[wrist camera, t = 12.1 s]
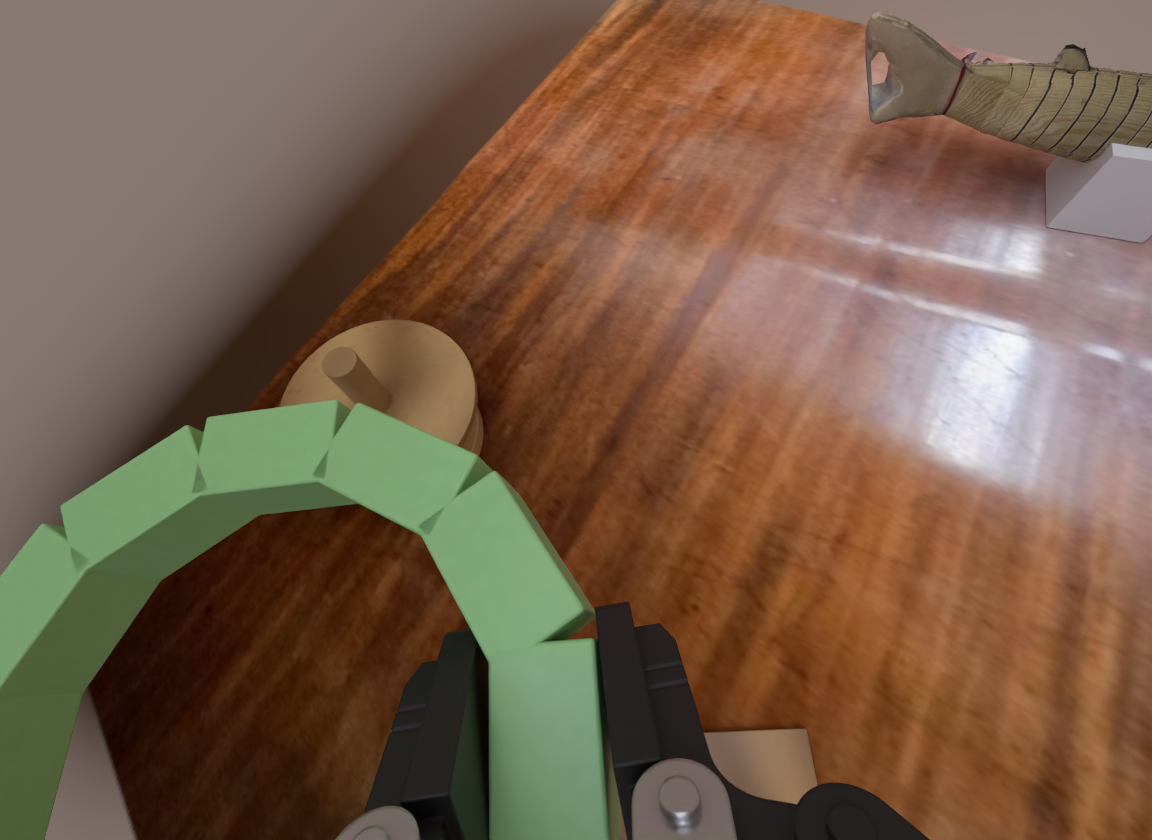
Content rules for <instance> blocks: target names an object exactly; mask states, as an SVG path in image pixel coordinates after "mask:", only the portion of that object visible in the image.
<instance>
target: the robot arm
mask: <svg viewBox="0 0 1152 840" xmlns="http://www.w3.org/2000/svg"><path fill="white" fill-rule="evenodd" d="M595 616H596V624H597V633H598V642H599V651H600V659H601V668H602V677H603V685H604V694H605V703H606V712H607V720H608V729H609V738H610V746H611V755H612V764H613V770H614V775H615V780H616V785H617V790H618V795H619V800H620V805H621V810H622V815H623V820H624V825H625V830H626V835H627V840H929V839H928V838H927V837H926V836H925V835H923V834H922V833H921V832H920V831H919V830H917V829H916V828H915V827H914V826H913V825H911V824H910V823H909V822H908V821H907V820H905V819H904V818H903V817H902V816H901V815H899V814H898V813H897V812H896V811H894V810H893V809H892V808H891V807H890V806H888V805H887V804H886V803H885V802H883V801H882V800H881V799H879V798H878V797H877V796H875V795H873V794H872V793H870V792H868V791H866V790H864V789H861V788H859V787H856V786H853V785H849V784H843V783H826V784H821V785H818V786H816V787H813V788H812V789H810V790H809V791H807V792H806V793H805V794H804V795H803V796H802V797H801V799H800V800H799V802H798V804H793V803H787V802H781V801H775V800H769V799H764V798H760V797H756V796H753V795H751V794H748V793H746V792H744V791H742V790H741V789H739V788H737V787H736V786H734V785H733V784H732V783H730V782H729V781H728V780H727V779H726V778H725V777H724V776H723V775H722V774H721V772H720V771H719V770H718V769H717V767H716V765H715V764H714V762H713V760H712V757H711V755H710V752H709V748H708V745H707V742H706V739H705V735H704V732H703V729H702V726H701V722H700V719H699V716H698V712H697V709H696V706H695V703H694V699H693V696H692V693H691V690H690V686H689V684H688V680H687V676H686V673H685V670H684V667H683V665H682V660H681V657H680V654H679V650H678V647H677V644H676V640H675V639H674V638H673V637H672V636H671V635H670V634H669V633H668V632H667V631H666V630H665V629H664V627H663V626H662V625H661V624H660V623H658V624H652V625H646V626H640V627H634V623H633V618H632V613H631V609H630V604H629V602H623V603H617V604H611V605H605V606H599V607H595ZM391 729H392V733H391V734H389V738H388V741H387V744H386V747H385V750H384V753H383V756H382V759H381V762H380V765H379V768H378V772H377V775H376V778H375V781H374V784H373V787H372V790H371V793H370V796H369V799H368V802H367V805H366V809H365V811H364V814H363V815H361V816H360V817H358V818H357V819H355V820H354V821H353V822H352V823H350V824H349V825H348V826H347V827H346V828H345V829H344V830H343V831H342V832H341V833H340V834H339V835H338V837H337V838H336V839H335V840H489V666H488V661H487V659H486V657H485V655H484V653H483V651H482V650H481V648H480V646H479V644H478V642H477V640H476V638H475V636H474V635H473V633H472V631H471V629H470V628H469V629H463V630H457V631H451V632H447V633H446V634H445V636H444V639H443V642H442V646H441V650H440V654H439V657H438V661H432V662H426V663H422V664H421V665H420V667H419V668H418V669H417V671H416V672H415V673H414V675H413V676H412V677H411V679H410V680H409V681H408V682H407V684H406V685H405V688H404V691H403V694H402V697H401V701H400V704H399V707H398V713H396V716H395V719H394V722H393V725H392V728H391Z"/></svg>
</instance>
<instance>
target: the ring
mask: <svg viewBox="0 0 1152 840" xmlns="http://www.w3.org/2000/svg"><path fill="white" fill-rule="evenodd" d="M350 504H360V505H362V506H364V507H366V508H368V509H370V510H372V511H374V512H376V513H378V514H380V515H381V516H383V517H385V518H387V519H389V520H391V521H393V522H395V523H397V524H399V525H401V526H403V527H405V528H407V529H409V530H410V531H412V532H414V533H416V534H418V535H420V536H421V537H422V539H423V541H424V543H425V544H426V546H427V548H428V550H429V552H430V554H431V556H432V558H433V559H434V561H435V563H436V565H437V567H438V569H439V571H440V573H441V574H442V576H443V578H444V580H445V582H446V584H447V586H448V588H449V589H450V591H451V593H452V595H453V597H454V599H455V601H456V603H457V604H458V606H459V608H460V610H461V612H462V614H463V616H464V618H465V619H466V621H467V623H468V625H469V627H470V629H471V631H472V633H473V635H474V636H475V638H476V640H477V642H478V644H479V646H480V648H481V650H482V651H483V653H484V655H485V657H486V659H487V661H488V666H489V840H619V838H620V835H621V831H622V825H621V813H620V801H619V795H618V790H617V785H616V780H615V775H614V770H613V764H612V755H611V746H610V738H609V729H608V720H607V712H606V703H605V694H604V685H603V677H602V668H601V659H600V651H599V642H598V639H594V638H583V639H570V640H566V639H568V638H569V637H571V636H572V635H573V634H575V633H576V632H577V631H579V630H580V629H581V628H583V627H584V626H585V625H587V624H588V623H590V622H591V621H592V620H594V619H595V618H596V616H595V610H594V609H593V607H592V606H591V604H590V602H589V601H588V599H587V598H586V596H585V595H584V593H583V592H582V590H581V589H580V587H579V585H578V584H577V582H576V581H575V579H574V578H573V576H572V575H571V573H570V572H569V570H568V568H567V567H566V565H565V564H564V562H563V561H562V559H561V558H560V556H559V555H558V553H557V551H556V550H555V548H554V547H553V545H552V544H551V542H550V541H549V539H548V538H547V536H546V534H545V533H544V531H543V530H542V528H541V527H540V525H539V524H538V522H537V521H536V519H535V517H534V516H533V514H532V513H531V511H530V510H529V508H528V507H527V505H526V504H525V502H524V501H523V499H522V497H521V496H520V495H519V494H518V493H517V492H516V490H515V489H514V488H513V487H512V486H511V485H510V484H509V483H508V482H507V481H506V480H505V479H504V478H503V477H502V476H501V475H500V474H499V473H498V472H496V471H493V470H492V469H491V468H490V467H489V466H488V465H487V464H486V463H485V462H484V461H483V460H482V459H481V458H480V457H479V456H478V455H477V454H475V453H473V452H470V451H468V450H466V449H464V448H461V447H459V446H457V445H454V444H452V443H450V442H448V441H445V440H443V439H441V438H439V437H436V436H434V435H432V434H430V433H427V432H425V431H423V430H421V429H418V428H416V427H414V426H412V425H409V424H407V423H405V422H403V421H400V420H398V419H396V418H394V417H391V416H389V415H387V414H385V413H382V412H380V411H378V410H376V409H373V408H371V407H369V406H366V405H364V404H362V403H357V404H355V406H354V407H353V409H352V410H351V409H350V408H348V407H347V406H346V405H344V404H343V403H342V402H340V401H339V400H336V399H335V400H328V401H320V402H313V403H306V404H299V405H292V406H284V407H277V408H270V409H263V410H256V411H249V412H241V413H234V414H228V415H220V416H213V417H208V418H207V420H206V425H205V429H204V432H202V431H199V430H197V429H195V428H193V427H191V426H189V425H186V426H184V427H183V428H181V429H180V430H178V431H176V432H175V433H173V434H172V435H170V436H169V437H167V438H166V439H164V440H162V441H161V442H159V443H158V444H156V445H155V446H153V447H151V448H150V449H148V450H147V451H145V452H144V453H142V454H140V455H139V456H137V457H136V458H134V459H133V460H131V461H129V462H128V463H126V464H125V465H123V466H122V467H120V468H119V469H117V470H115V471H114V472H112V473H111V474H109V475H108V476H106V477H104V478H103V479H101V480H100V481H98V482H97V483H95V484H94V485H92V486H91V487H89V488H87V489H86V490H84V491H83V492H81V493H79V494H78V495H77V496H75V497H73V498H72V499H70V500H69V501H67V502H65V503H64V504H62V505H61V507H60V508H61V513H62V517H63V522H64V527H60V526H55V525H50V524H41V525H40V526H39V527H38V529H37V530H36V531H35V532H34V534H33V535H32V536H31V537H30V539H29V540H28V541H27V543H26V544H25V545H24V546H23V548H22V549H21V550H20V551H19V553H18V554H17V555H16V557H15V558H14V559H13V561H12V562H11V563H10V565H9V566H8V567H7V568H6V569H5V571H4V572H3V573H2V574H1V576H0V840H45V835H46V831H47V827H48V823H49V820H50V816H51V812H52V808H53V805H54V801H55V797H56V793H57V790H58V786H59V782H60V778H61V774H62V771H63V767H64V763H65V759H66V755H67V751H68V748H69V743H70V740H71V736H72V733H73V728H74V725H75V721H76V717H77V714H78V710H79V706H80V702H81V698H82V695H83V692H84V691H85V689H86V688H87V686H88V685H89V684H90V682H91V681H92V679H93V678H94V676H95V675H96V673H97V672H98V671H99V669H100V668H101V666H102V665H103V663H104V662H105V660H106V659H107V658H108V656H109V655H110V653H111V652H112V650H113V649H114V648H115V646H116V645H117V643H118V642H119V640H120V639H121V637H122V636H123V635H124V633H125V632H126V630H127V629H128V627H129V626H130V624H131V623H132V622H133V620H134V619H135V617H136V616H137V614H138V613H139V611H140V610H141V609H142V607H143V606H144V604H145V603H146V601H147V600H148V598H149V597H150V596H151V594H152V593H153V591H154V590H155V588H156V587H157V586H158V584H159V583H160V581H161V580H163V579H164V578H166V577H167V576H169V575H170V574H172V573H173V572H175V571H176V570H178V569H179V568H181V567H182V566H184V565H185V564H187V563H188V562H190V561H191V560H193V559H194V558H196V557H197V556H199V555H200V554H202V553H203V552H205V551H206V550H208V549H209V548H211V547H212V546H214V545H215V544H217V543H218V542H220V541H221V540H223V539H224V538H226V537H227V536H229V535H230V534H232V533H233V532H235V531H236V530H238V529H239V528H241V527H242V526H244V525H245V524H247V523H248V522H250V521H251V520H253V519H254V518H256V517H257V516H259V515H263V514H271V513H280V512H289V511H298V510H306V509H315V508H324V507H333V506H342V505H350Z"/></svg>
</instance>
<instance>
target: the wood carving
mask: <svg viewBox="0 0 1152 840" xmlns="http://www.w3.org/2000/svg"><path fill="white" fill-rule="evenodd" d="M878 52H884V53H885V56H886V58H887V60H888V62H889V66H888V73H887V77H886V80H885V82H884V83H880V84H876V85H873V86H872V77H871V61H872V60H873V58H874V57H875V56H876V54H877V53H878ZM976 53H977V52H974V53H971V54H968V55H967V56H966V57H964V58H963V59H962V60H959V59H957V58H956V57H954V56H953V55H952V54H950V53H949V52H948V51H947V50H946V49H945V48H943V47H942V46H941V45H940V44H939V43H938V42H936V41H935V40H934V39H932V38H931V37H930V36H928V35H927V34H926V33H925V32H923V31H922V30H921V29H919V28H917V27H916V26H914V25H913V24H911V23H910V22H908V21H907V20H905V19H900V18H898V17H896V16H894V15H890V14H887V13H883V12H877V13H875V14H874V15H873V16H872V17H871V18H870V19H869V21H868V23H867V28H866V70H867V82H868V94H869V115H870V119H871V122H873V123H875V124H878V123H881V122H886V121H891V120H895V119H897V118H901V117H924V116H934V115H944V116H947V117H949V118H952V119H955V120H957V121H959V122H961V123H963V124H965V125H968V126H970V127H972V128H974V129H976V130H978V131H980V132H982V133H984V134H989V135H993V136H996V137H998V138H1000V139H1003V140H1006V141H1009V142H1013V143H1018V144H1021V145H1024V146H1027V147H1030V148H1032V149H1036V150H1041V151H1044V152H1046V153H1050V154H1054V155H1057V157H1056V158H1055V159H1054V161H1053V162H1052V163H1051V164H1050V165H1049V167H1048V168H1047V169H1046V227H1048V228H1054V229H1060V230H1066V231H1072V232H1078V233H1084V234H1090V235H1096V236H1102V237H1108V238H1114V239H1120V240H1126V241H1133V242H1139V243H1143V242H1144V241H1145V240H1146V239H1148V238H1149V237H1150V236H1151V235H1152V74H1148V73H1136V72H1129V71H1114V70H1111V69H1106V68H1093V67H1091V66H1090V65H1089V61H1088V58H1087V55H1086V50H1085V48H1084V49H1081V48H1079V47H1077V46H1075V45H1073V44H1072V45H1066V46H1065V48H1064V49H1063V50H1062V51H1061V53H1060V54H1059V55H1058V56H1057V58H1056V59H1055V61H1054V62H1053V63H1048V64H1042V63H1028V64H1027V63H1008V64H1005V63H999V64H996V63H994V62H993V61H992V60H990V59H989V58H987V59H985V60H983V61H981V62H977V63H976V64H974V63H972V62H971V61H972V59H973V58H974V56H975V55H976Z"/></svg>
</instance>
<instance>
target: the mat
mask: <svg viewBox="0 0 1152 840" xmlns="http://www.w3.org/2000/svg"><path fill="white" fill-rule="evenodd" d="M704 735H705V739H706V742H707V745H708V748H709V752H710V755H711V757H712V760H713V762H714V764H715V765H716V767H717V769H718V770H719V771H720V772H721V774H722V775H723V776H724V777H725V778H726V779H727V780H728V781H729V782H730V783H732V784H733V785H734V786H736V787H737V788H739V789H741V790H742V791H744V792H746V793H748V794H751V795H753V796H756V797H760V798H764V799H769V800H775V801H781V802H787V803H793V804H798V802H799V800H800V799H801V797H802V796H803V795H804V794H805V793H806V792H807V791H809V790H810V789H812V788H813V787H816V786H818V784H817V779H816V774H815V769H814V764H813V759H812V754H811V749H810V743H809V738H808V733H807V729H806V728H788V729H763V730H737V731H712V732H704ZM619 801H620V800H619ZM620 813H621V825H622V831H621V835H620V838H619V840H627V835H626V830H625V825H624V820H623V815H622V810H621V805H620Z"/></svg>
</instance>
